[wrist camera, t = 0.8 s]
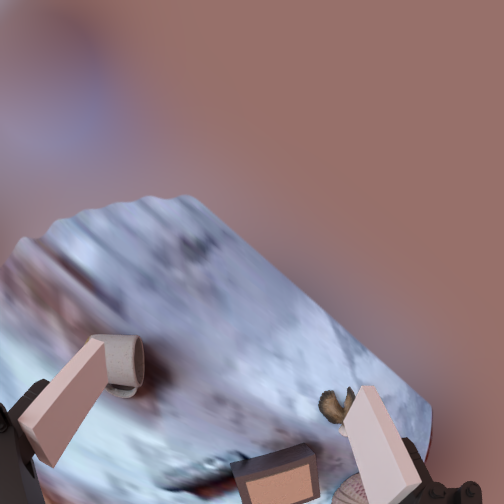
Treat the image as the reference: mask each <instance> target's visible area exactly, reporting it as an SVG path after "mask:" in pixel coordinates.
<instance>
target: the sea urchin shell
mask: <svg viewBox="0 0 504 504" xmlns="http://www.w3.org/2000/svg"><path fill="white" fill-rule="evenodd" d="M334 494H335V495H334V496H333V498H332V503H331V504H369V502H368V499H367V495H366V492H365V489H364V485H363V482H362V479H361V476H360V472H359V473H358V474H355V475H353V476H351V477H350V478H348V479H347V480H346V481H344V482H343V483H342V484H341V486H340V488H338V489H337V491H335V493H334Z"/></svg>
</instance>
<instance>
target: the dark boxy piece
mask: <svg viewBox="0 0 504 504" xmlns="http://www.w3.org/2000/svg"><path fill="white" fill-rule="evenodd" d="M230 466H231V469H232V472H233V475H234V478H235V481H236V484H237V487H238V490H239V493H240V497H241V500H242V504H303V503H306V502H309V501H311V500H314V499H317V498H319V497H320V489H319V481H318V472H317V464H316V456H315V453H314V452H313V451H312V450H311V449H310V448H309V447H308V446H307V445H306V444H305V443H302V444H299V445H296V446H293V447H289V448H286V449H283V450H280V451H276V452H273V453H269V454H266V455H262V456H258V457H254V458H250V459H246V460H242V461H237V462H233V463H230Z"/></svg>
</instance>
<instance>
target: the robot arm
mask: <svg viewBox="0 0 504 504" xmlns="http://www.w3.org/2000/svg"><path fill="white" fill-rule="evenodd" d="M107 384H108V376H107V367H106V357H105V346H104V342H102V341H99V340H96V339H93V338H91V339H90V340H89V341H88V342H87V343H86V344H85V345H84V346H83V347H82V348H81V350H80V351H79V352H78V353H77V354H76V355H75V356H74V357H73V358H72V359H71V360H70V361H69V362H68V363H67V364H66V365H65V367H64V368H63V369H62V370H61V371H60V372H59V373H58V374H57V375H56V376H55V377H54V379H53V380H52V381H51V382H49V381H47V380H45V379H42V380H40V381H38V382H36V383H34V384H33V385H32V386H31V387H30V388H29V389H28V391H27V392H26V393H25V394H24V396H22V397H21V398H20V399H19V400H18V401H17V402H16V404H15V405H14V406H13V407H12V408H11V409H10V410H9V411H8V412H7V411H6V409H5V407H4V406H3V404H2V403H0V504H45V501H44V498H43V495H42V491H41V488H40V485H39V481H38V477H37V474H36V470H35V465H34V461H33V459H32V457H33V455H34V454H36V456H37V457H38V459H39V460H40V461H41V462H43V463H45V464H47V465H48V466H50V467H52V468H54V467H55V465H56V463H57V462H58V460H59V458H60V457H61V455H62V454H63V452H64V450H65V449H66V447H67V445H68V444H69V442H70V441H71V439H72V437H73V436H74V434H75V433H76V431H77V429H78V428H79V426H80V425H81V423H82V422H83V420H84V419H85V417H86V415H87V414H88V412H89V411H90V409H91V408H92V406H93V405H94V403H95V402H96V400H97V399H98V397H99V396H100V394H101V393H102V391H103V390H104V388H105V387H106V385H107ZM343 423H344V426H345V429H346V432H347V435H348V438H349V441H350V444H351V447H352V450H353V453H354V457H355V460H356V463H357V466H358V469H359V472H360V476H361V479H362V482H363V485H364V489H365V492H366V495H367V499H368V502H369V504H482V493H481V488H480V486H479V485H478V484H477V483H475V482H473V481H467V482H466V483H464V484H463V485H462V486H461V487H460V488H446V487H445V486H444V485H443V484H441V483H439V482H433V480H432V478H431V476H430V474H429V472H428V470H427V468H426V466H425V464H424V462H423V460H422V459H421V456H420V454H419V453H418V451H417V449H416V447H415V445H414V443H413V442H411V441H410V440H409V439H408V438H407V437H406V438H401V437H400V435H399V433H398V431H397V429H396V427H395V425H394V423H393V421H392V419H391V417H390V416H389V414H388V412H387V410H386V408H385V406H384V404H383V402H382V400H381V398H380V396H379V394H378V393H377V391H376V389H375V387H374V386H361V388H360V390H359V392H358V394H357V396H356V398H355V400H354V402H353V404H352V406H351V408H350V410H349V412H348V413H347V415H346V417H345V419H344V421H343Z"/></svg>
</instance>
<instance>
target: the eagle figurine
mask: <svg viewBox="0 0 504 504" xmlns="http://www.w3.org/2000/svg"><path fill="white" fill-rule="evenodd" d="M354 400H355V394H354V392H353V391H352V389H351V387H348V388H347V396H346V400H345V402H344V408H342V407H341V406H340V405H339V403H338V401H337V400H336V397H335V394H334V392H333V390H332V391H330V390H328V391H324V393H322V396H321V397H320V401H319V404H318V406H319V410H320V412H321V413H322V414H323V415H324V416H325V417H326V418H327V419H328V421H329V422H331V423H334V424H336V423H337V424H338V423H339V424H341V423H342V425H341V426H340V428H339V433H340V434H342V436H345V437H348V435H347V432H346V429H345V426H344V423H343V421H344V419H345V417H346V415H347V413H348V412H349V410H350V408H351V406H352V404H353V402H354Z"/></svg>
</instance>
